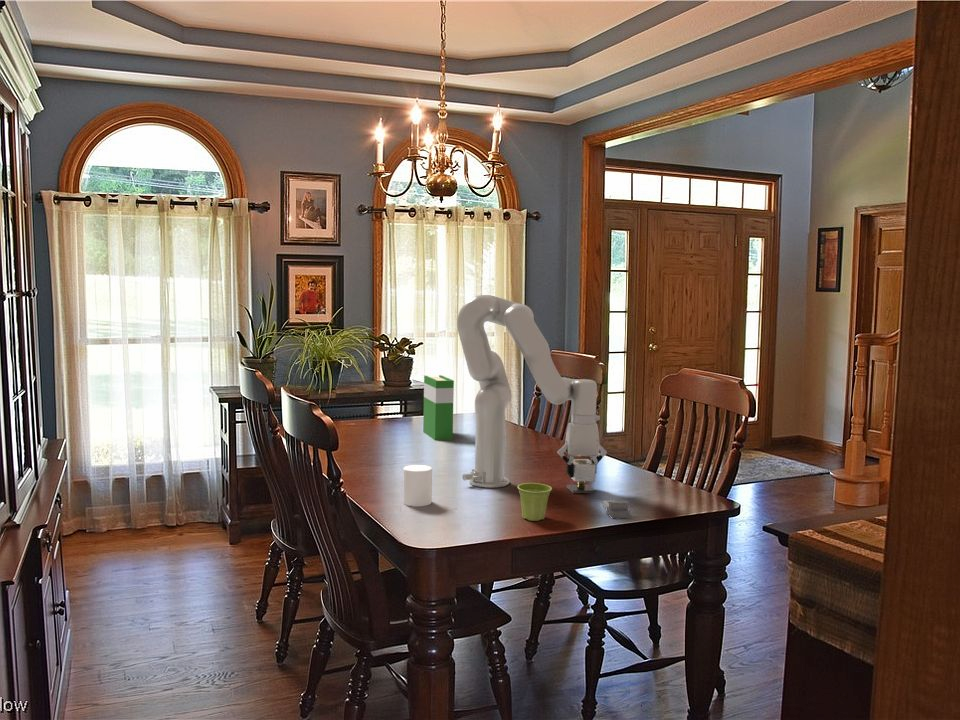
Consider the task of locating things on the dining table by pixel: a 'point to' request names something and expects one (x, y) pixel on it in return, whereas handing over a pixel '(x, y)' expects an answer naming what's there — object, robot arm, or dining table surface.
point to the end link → (583, 470)
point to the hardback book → (438, 407)
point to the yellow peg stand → (580, 488)
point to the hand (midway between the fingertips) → (581, 475)
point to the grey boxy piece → (618, 509)
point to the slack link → (605, 504)
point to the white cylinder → (417, 485)
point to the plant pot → (534, 500)
